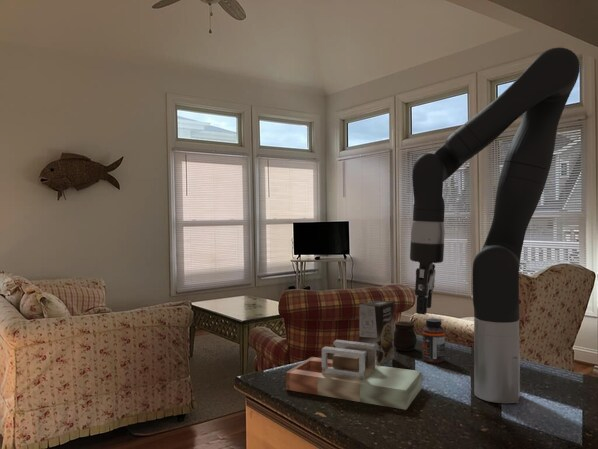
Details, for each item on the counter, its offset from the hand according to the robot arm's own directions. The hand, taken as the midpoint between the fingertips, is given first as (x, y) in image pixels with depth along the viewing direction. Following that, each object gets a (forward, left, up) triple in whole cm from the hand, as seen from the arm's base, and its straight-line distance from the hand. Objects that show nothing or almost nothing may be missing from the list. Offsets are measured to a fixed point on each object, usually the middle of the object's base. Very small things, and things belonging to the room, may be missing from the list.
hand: (423, 310), depth 115 cm
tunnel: (+15, +8, -14) cm, 22 cm away
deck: (+14, +8, -18) cm, 24 cm away
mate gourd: (+12, -31, -18) cm, 38 cm away
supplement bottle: (+2, -23, -18) cm, 29 cm away
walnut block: (+15, +8, -14) cm, 22 cm away
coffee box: (+16, -16, -18) cm, 29 cm away
